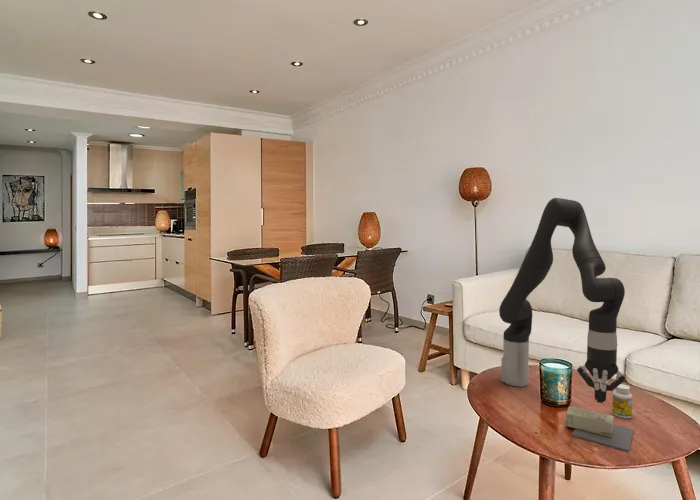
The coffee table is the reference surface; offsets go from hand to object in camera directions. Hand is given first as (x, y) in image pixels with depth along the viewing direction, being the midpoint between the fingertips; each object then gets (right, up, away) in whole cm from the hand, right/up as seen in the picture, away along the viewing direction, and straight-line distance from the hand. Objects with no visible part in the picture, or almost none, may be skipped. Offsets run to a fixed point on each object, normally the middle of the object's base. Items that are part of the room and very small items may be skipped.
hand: (600, 401), depth 125 cm
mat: (+1, -10, 0) cm, 10 cm away
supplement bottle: (+14, -9, +12) cm, 20 cm away
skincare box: (-7, -7, +6) cm, 11 cm away
